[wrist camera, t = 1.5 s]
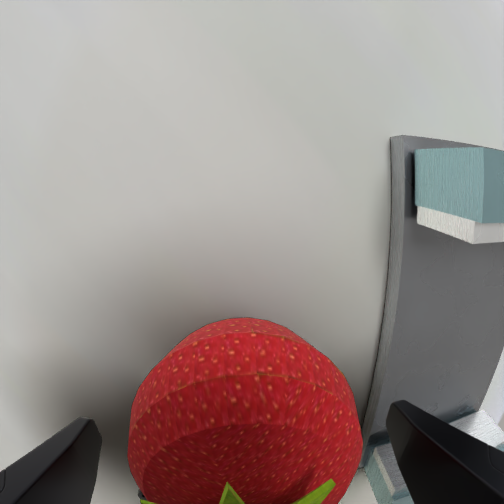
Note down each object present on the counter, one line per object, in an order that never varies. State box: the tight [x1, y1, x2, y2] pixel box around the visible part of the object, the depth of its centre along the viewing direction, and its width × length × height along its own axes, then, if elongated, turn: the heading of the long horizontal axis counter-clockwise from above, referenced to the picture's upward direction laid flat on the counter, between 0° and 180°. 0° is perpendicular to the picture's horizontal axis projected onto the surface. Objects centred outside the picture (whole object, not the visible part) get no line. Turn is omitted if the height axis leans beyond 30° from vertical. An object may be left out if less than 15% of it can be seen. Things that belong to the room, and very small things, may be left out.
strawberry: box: [127, 318, 363, 504], centre depth 7 cm, size 6×8×10 cm
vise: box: [358, 135, 504, 504], centre depth 10 cm, size 16×8×5 cm, turn 3°
